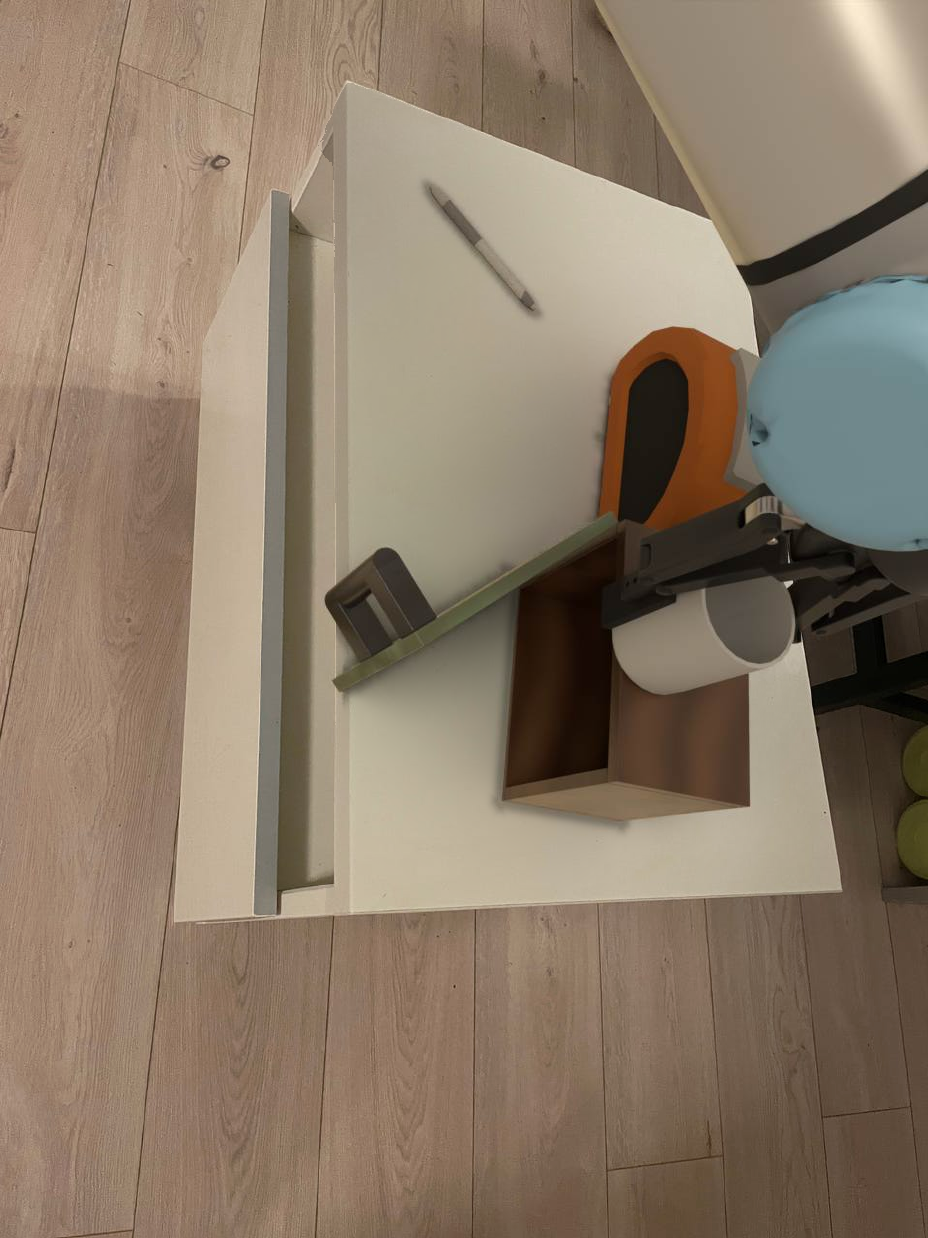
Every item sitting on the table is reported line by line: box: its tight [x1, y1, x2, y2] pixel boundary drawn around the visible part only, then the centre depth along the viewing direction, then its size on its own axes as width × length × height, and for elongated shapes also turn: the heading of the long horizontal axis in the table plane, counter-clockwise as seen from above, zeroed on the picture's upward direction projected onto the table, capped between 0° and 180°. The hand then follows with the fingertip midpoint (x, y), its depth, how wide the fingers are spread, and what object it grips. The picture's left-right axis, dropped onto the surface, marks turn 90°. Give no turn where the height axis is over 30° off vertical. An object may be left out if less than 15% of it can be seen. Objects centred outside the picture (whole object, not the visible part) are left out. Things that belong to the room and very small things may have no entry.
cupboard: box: [501, 519, 751, 822], centre depth 69 cm, size 11×18×15 cm, turn 174°
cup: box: [612, 576, 795, 695], centre depth 58 cm, size 7×10×9 cm
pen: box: [429, 184, 536, 311], centre depth 83 cm, size 1×14×1 cm, turn 49°
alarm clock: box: [598, 325, 765, 531], centre depth 77 cm, size 23×9×17 cm, turn 171°
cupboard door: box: [324, 511, 619, 693], centre depth 64 cm, size 6×18×15 cm, turn 126°
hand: (655, 622), depth 62 cm, fingers closed on cup, 7 cm apart
